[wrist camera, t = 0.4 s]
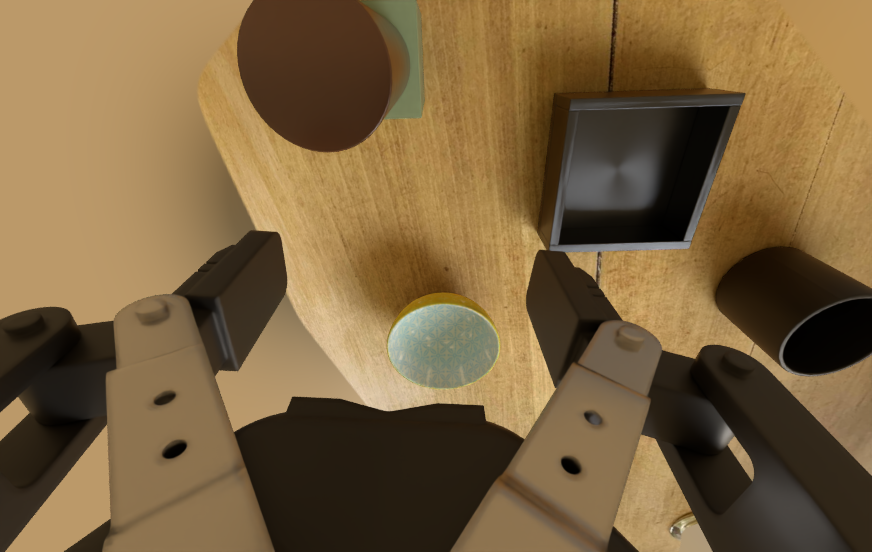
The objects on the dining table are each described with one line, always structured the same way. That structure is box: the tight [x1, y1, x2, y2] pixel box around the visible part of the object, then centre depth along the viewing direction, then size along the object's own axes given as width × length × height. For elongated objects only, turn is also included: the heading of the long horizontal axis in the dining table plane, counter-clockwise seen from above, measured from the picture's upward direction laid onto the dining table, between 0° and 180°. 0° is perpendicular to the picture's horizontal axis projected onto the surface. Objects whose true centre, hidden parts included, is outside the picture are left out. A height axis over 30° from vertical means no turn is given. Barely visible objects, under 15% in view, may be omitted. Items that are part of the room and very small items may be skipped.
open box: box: [537, 88, 746, 252], centre depth 32 cm, size 13×13×4 cm
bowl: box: [387, 292, 500, 389], centre depth 39 cm, size 11×12×6 cm
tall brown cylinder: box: [237, 0, 410, 152], centre depth 17 cm, size 5×5×11 cm
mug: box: [716, 247, 872, 376], centre depth 36 cm, size 9×12×9 cm
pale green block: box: [359, 0, 425, 119], centre depth 25 cm, size 6×6×9 cm
